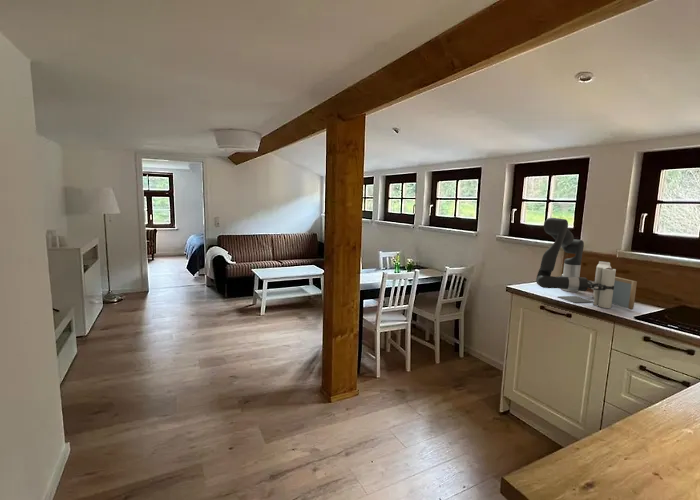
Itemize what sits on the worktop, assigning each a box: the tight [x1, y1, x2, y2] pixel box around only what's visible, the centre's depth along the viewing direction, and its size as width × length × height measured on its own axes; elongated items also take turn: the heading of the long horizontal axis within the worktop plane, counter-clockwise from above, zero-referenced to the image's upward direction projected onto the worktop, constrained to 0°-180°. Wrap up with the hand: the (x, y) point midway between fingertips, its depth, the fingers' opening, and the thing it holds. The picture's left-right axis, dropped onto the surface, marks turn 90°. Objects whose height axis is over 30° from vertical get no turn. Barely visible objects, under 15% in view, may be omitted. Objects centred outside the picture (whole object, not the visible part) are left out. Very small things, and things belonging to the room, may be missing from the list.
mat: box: [557, 295, 594, 304], centre depth 219 cm, size 13×13×1 cm
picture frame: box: [612, 276, 638, 310], centre depth 205 cm, size 18×2×15 cm, turn 13°
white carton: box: [593, 268, 617, 309], centre depth 204 cm, size 7×6×21 cm
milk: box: [592, 260, 613, 298], centre depth 224 cm, size 6×6×22 cm
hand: (611, 286), depth 203 cm, fingers open, 4 cm apart
